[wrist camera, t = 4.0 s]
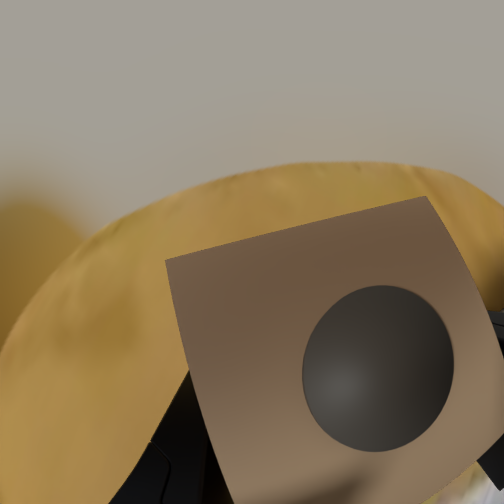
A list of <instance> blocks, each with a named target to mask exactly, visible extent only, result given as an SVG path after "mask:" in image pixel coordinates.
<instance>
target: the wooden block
mask: <svg viewBox="0 0 504 504" xmlns="http://www.w3.org/2000/svg"><path fill="white" fill-rule="evenodd" d="M165 262H166V268H167V273H168V279H169V284H170V289H171V294H172V299H173V304H174V308H175V313H176V317H177V322H178V326H179V331H180V335H181V339H182V343H183V347H184V351H185V355H186V359H187V363H188V367H189V371H190V374H191V378H192V382H193V385H194V389H195V392H196V396H197V399H198V402H199V406H200V409H201V412H202V416H203V419H204V422H205V425H206V428H207V431H208V434H209V437H210V440H211V443H212V446H213V449H214V452H215V455H216V457H217V460H218V463H219V466H220V468H221V471H222V474H223V476H224V479H225V482H226V484H227V487H228V489H229V492H230V494H231V497H232V499H233V502H234V504H421V503H423V502H424V501H426V500H427V499H428V498H430V497H431V496H433V495H434V494H436V493H437V492H438V491H440V490H441V489H442V488H444V487H445V486H446V485H448V484H449V483H450V482H451V481H453V480H454V479H455V478H456V477H458V476H459V475H460V474H461V473H463V472H464V471H465V470H466V469H467V468H468V467H470V466H471V465H472V464H473V463H474V462H475V461H476V460H477V459H478V458H480V457H481V456H482V455H483V454H484V453H485V452H486V451H487V450H488V449H489V448H490V447H491V446H492V445H493V444H494V443H495V442H496V441H497V440H498V439H499V438H500V437H501V436H502V435H503V433H504V358H503V355H502V352H501V349H500V346H499V342H498V340H497V337H496V334H495V331H494V328H493V325H492V323H491V320H490V318H489V315H488V312H487V310H486V307H485V305H484V303H483V300H482V298H481V296H480V293H479V291H478V289H477V287H476V284H475V282H474V280H473V278H472V276H471V274H470V272H469V270H468V268H467V266H466V264H465V262H464V260H463V258H462V256H461V254H460V252H459V250H458V248H457V247H456V245H455V243H454V241H453V239H452V238H451V236H450V234H449V232H448V231H447V229H446V227H445V225H444V224H443V222H442V220H441V219H440V217H439V216H438V214H437V212H436V211H435V209H434V208H433V206H432V205H431V203H430V201H429V200H428V198H427V197H426V196H423V197H418V198H414V199H409V200H405V201H401V202H396V203H392V204H388V205H384V206H379V207H375V208H371V209H367V210H362V211H358V212H354V213H350V214H346V215H341V216H337V217H333V218H329V219H325V220H321V221H317V222H312V223H308V224H304V225H300V226H296V227H292V228H288V229H284V230H280V231H276V232H272V233H268V234H264V235H260V236H256V237H252V238H248V239H244V240H240V241H236V242H232V243H228V244H225V245H221V246H217V247H213V248H209V249H205V250H201V251H197V252H194V253H190V254H186V255H182V256H178V257H175V258H171V259H167V260H165Z"/></svg>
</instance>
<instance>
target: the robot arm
mask: <svg viewBox="0 0 504 504" xmlns="http://www.w3.org/2000/svg"><path fill="white" fill-rule="evenodd" d="M487 312H488V315H489V318H490V320H491V323H492V325H493V328H494V331H495V334H496V337H497V340H498V342H499V346H500V349H501V352H502V355H503V358H504V312H495V311H487ZM150 441H151V442H149V443H148V445H147V447H146V449H145V451H144V452H143V454H142V456H141V457H140V459H139V461H138V462H137V464H136V466H135V467H134V469H133V470H132V472H131V473H130V475H129V476H128V478H127V479H126V481H125V482H124V483H123V485H122V486H121V488H120V489H119V490H118V492H117V493H116V494H115V496H114V497H113V498H112V500H111V501H110V502H109V503H108V504H234V502H233V499H232V497H231V494H230V492H229V489H228V487H227V484H226V482H225V479H224V476H223V474H222V471H221V468H220V466H219V463H218V460H217V457H216V455H215V452H214V449H213V446H212V443H211V440H210V437H209V434H208V431H207V428H206V425H205V422H204V419H203V416H202V412H201V409H200V406H199V402H198V399H197V396H196V392H195V389H194V385H193V382H192V378H191V374H190V371H188V373H187V374H186V376H185V378H184V380H183V382H182V383H181V385H180V387H179V389H178V391H177V393H176V394H175V396H174V398H173V400H172V402H171V403H170V405H169V407H168V409H167V411H166V413H165V414H164V416H163V418H162V420H161V422H160V424H159V425H158V427H157V429H156V431H155V433H154V434H153V436H152V438H151V440H150ZM476 461H477V462H478V463H479V465H480V466H481V467H482V469H483V470H484V471H485V473H486V474H487V475H488V477H489V478H490V479H491V481H492V482H493V483H494V485H495V486H496V487H497V489H498V490H499V491H501V490H502V489H503V488H504V433H503V435H502V436H501V437H500V438H499V439H498V440H497V441H496V442H495V443H494V444H493V445H492V446H491V447H490V448H489V449H488V450H487V451H486V452H485V453H484V454H483V455H482V456H481V457H480V458H478V459H477V460H476Z"/></svg>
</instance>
